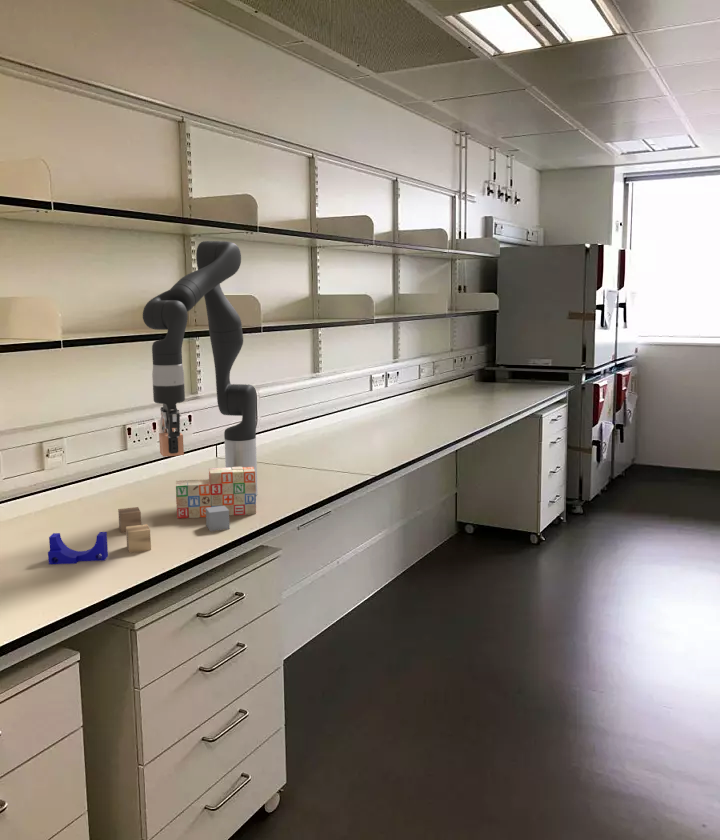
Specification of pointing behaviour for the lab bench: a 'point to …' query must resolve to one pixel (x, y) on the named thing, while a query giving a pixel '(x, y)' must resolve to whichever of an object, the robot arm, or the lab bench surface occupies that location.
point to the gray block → (217, 518)
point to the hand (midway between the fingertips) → (171, 450)
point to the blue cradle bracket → (68, 556)
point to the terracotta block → (165, 446)
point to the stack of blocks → (218, 492)
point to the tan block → (129, 518)
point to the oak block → (138, 538)
